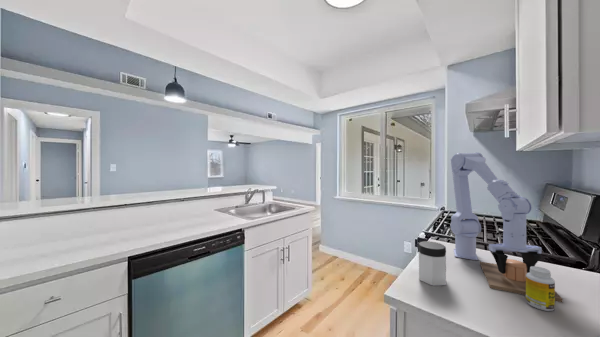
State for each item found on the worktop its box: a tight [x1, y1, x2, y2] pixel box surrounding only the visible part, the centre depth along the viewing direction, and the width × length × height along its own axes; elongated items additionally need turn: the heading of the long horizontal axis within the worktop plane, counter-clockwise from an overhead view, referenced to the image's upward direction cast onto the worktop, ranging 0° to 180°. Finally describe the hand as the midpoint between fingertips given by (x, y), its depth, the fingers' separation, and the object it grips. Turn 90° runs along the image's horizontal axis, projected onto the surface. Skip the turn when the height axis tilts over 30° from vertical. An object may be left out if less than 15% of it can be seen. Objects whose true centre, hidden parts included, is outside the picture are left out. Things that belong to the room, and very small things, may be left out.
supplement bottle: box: [525, 265, 556, 312], centre depth 64 cm, size 6×6×10 cm
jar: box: [418, 240, 447, 287], centre depth 79 cm, size 9×8×12 cm
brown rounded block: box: [503, 258, 527, 282], centre depth 78 cm, size 6×6×5 cm
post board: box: [479, 261, 564, 303], centre depth 78 cm, size 20×16×4 cm
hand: (514, 273), depth 78 cm, fingers open, 7 cm apart
